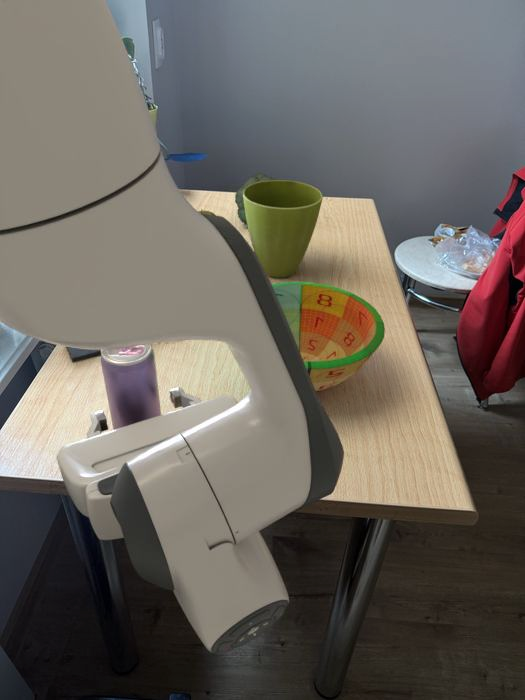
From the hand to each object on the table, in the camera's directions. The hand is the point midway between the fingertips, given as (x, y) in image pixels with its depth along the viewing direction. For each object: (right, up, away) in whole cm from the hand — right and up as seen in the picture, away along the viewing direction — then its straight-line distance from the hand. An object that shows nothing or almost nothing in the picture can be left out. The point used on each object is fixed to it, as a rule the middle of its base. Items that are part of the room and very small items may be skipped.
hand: (137, 403), depth 62 cm
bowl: (+21, +3, +18) cm, 28 cm away
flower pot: (+18, +23, +46) cm, 54 cm away
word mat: (-7, +11, +28) cm, 31 cm away
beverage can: (-1, -6, +6) cm, 8 cm away
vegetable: (+14, +37, +66) cm, 77 cm away
